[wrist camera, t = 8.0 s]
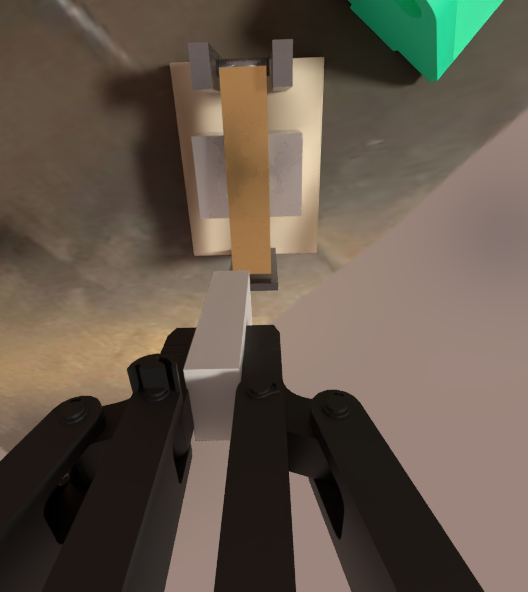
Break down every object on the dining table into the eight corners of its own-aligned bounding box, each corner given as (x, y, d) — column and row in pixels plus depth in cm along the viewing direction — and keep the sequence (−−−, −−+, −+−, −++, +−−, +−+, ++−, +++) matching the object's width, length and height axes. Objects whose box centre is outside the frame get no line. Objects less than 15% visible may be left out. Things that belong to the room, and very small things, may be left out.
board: (196, 251, 37) (194, 255, 36) (173, 64, 29) (169, 62, 28) (315, 248, 36) (316, 252, 35) (322, 58, 29) (324, 57, 28)
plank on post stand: (214, 255, 35) (201, 292, 28) (194, 58, 28) (170, 42, 21) (296, 253, 35) (303, 289, 28) (298, 54, 28) (309, 36, 21)
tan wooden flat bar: (231, 270, 30) (230, 274, 29) (217, 61, 24) (215, 58, 23) (273, 269, 29) (273, 273, 29) (269, 59, 24) (269, 56, 23)
